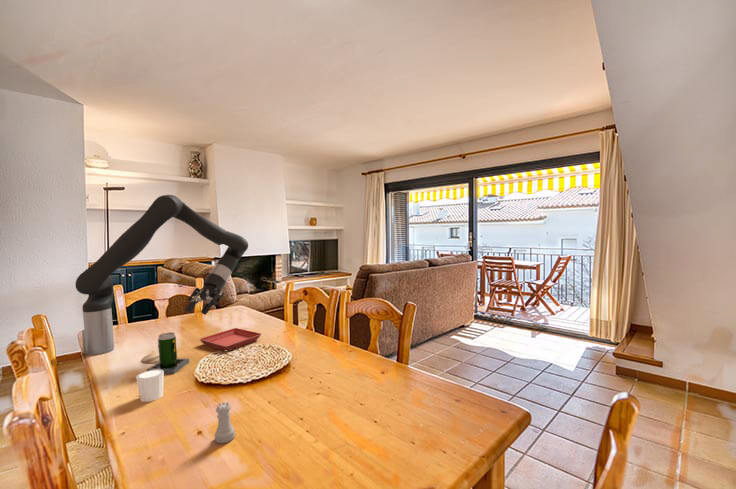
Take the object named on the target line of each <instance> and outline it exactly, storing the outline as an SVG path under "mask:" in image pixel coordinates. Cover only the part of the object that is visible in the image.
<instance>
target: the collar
mask: <svg viewBox="0 0 736 489" xmlns="http://www.w3.org/2000/svg"><path fill="white" fill-rule="evenodd" d="M188 364H190V358H177V365H176V366H175V367H173V368H160V362H158V363H154V364H152V365H151V366H150V367H149V368H146V371H149V370H155V369H161V370H163V371H164V375H165V374H166V375H167V374H173V375H174V374H175V373H177V372H178V371H180V370H181V369H183V368H184V367H185V366H186V365H188Z"/></svg>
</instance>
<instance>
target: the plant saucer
mask: <svg viewBox="0 0 736 489" xmlns="http://www.w3.org/2000/svg"><path fill="white" fill-rule="evenodd" d="M261 335H262V333H261V332H256V331H251V330H246V329H243V328H237V327H235V328H234V327H233V328H230V329H228V330H224V331H221V332H217V333H214V334H211V335H207V336H205V337H200V338H199V341H200V342H201V343H202V344H204V345H205V346H206V347H207V346H208V347H210V348H214V349H218V350H221V351H224V350H229V351H231V350H230V349H232V350H234V349H233V348H235V349H237V348H239V347H243V346H245V345H248V344H251V343H254V342H256V341H257V340H258V339H259V338H260V337H261ZM236 347H237V348H236Z"/></svg>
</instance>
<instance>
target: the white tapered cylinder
mask: <svg viewBox="0 0 736 489" xmlns="http://www.w3.org/2000/svg"><path fill="white" fill-rule="evenodd" d="M164 375H165V374H164V371H163V370H161V369H155V370H149V371H147V370H146V371H143V372H141V373H139V374H137V375H136V377H135V378H136V382H137V383H136V385H137V388H138V394H139V399H140V402H142V403H148V402H154V401H156V400H159V399H161V397H163V396H164V381H165V380H164V378H165V377H164Z"/></svg>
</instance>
